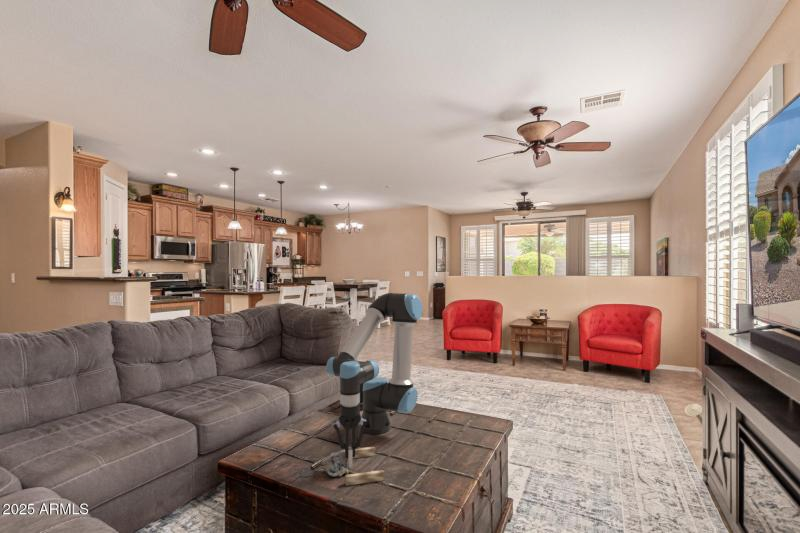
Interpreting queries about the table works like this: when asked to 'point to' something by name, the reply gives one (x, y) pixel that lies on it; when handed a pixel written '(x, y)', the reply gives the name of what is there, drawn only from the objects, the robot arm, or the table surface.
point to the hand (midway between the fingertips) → (350, 465)
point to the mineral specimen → (335, 464)
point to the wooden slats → (365, 476)
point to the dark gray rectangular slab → (307, 473)
